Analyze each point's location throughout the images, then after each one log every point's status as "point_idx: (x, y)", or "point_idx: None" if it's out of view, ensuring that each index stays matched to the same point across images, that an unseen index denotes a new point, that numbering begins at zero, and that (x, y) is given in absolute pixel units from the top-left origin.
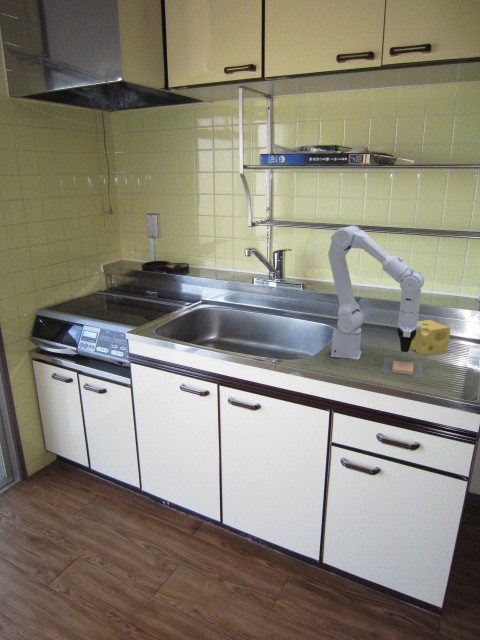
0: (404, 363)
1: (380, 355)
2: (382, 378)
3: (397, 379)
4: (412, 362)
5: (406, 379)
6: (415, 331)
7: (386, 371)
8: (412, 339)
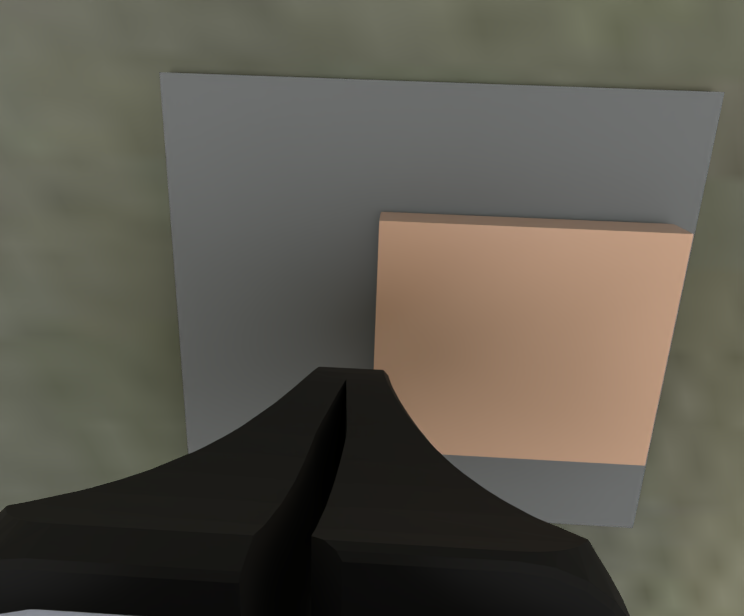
0: (427, 330)
1: None
2: (735, 508)
3: (740, 373)
4: (220, 206)
5: (726, 281)
6: (251, 590)
7: (599, 489)
8: (501, 499)
